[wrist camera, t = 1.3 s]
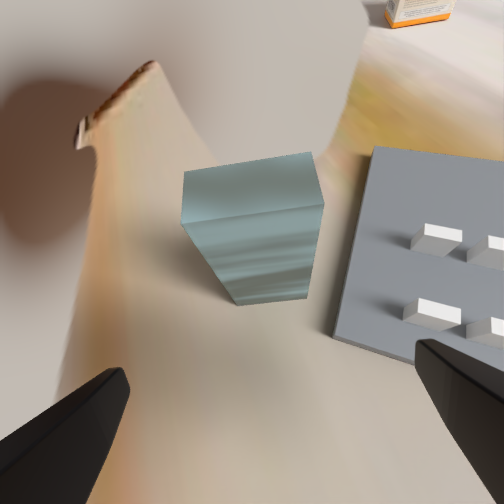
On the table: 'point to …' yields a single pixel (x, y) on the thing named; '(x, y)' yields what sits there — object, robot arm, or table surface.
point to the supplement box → (417, 11)
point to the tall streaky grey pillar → (256, 225)
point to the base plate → (427, 257)
